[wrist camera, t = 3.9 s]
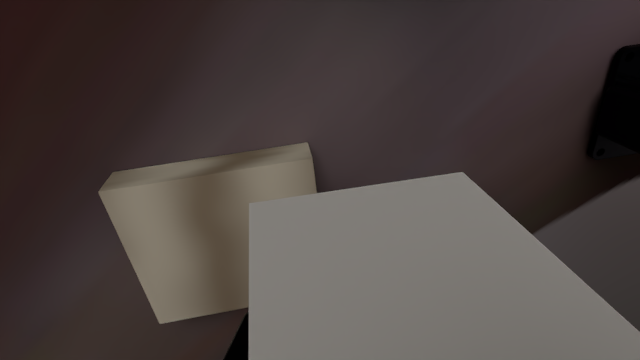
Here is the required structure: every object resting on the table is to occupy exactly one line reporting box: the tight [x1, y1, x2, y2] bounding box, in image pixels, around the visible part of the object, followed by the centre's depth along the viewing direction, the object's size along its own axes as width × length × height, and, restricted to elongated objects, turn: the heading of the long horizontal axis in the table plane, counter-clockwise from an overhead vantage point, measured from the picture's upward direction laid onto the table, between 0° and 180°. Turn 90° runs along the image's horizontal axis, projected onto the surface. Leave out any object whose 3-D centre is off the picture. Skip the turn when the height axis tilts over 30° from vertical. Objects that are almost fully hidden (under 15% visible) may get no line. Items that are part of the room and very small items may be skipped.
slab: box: [98, 142, 317, 324], centre depth 20 cm, size 10×9×2 cm
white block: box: [248, 172, 640, 360], centre depth 7 cm, size 5×5×5 cm
